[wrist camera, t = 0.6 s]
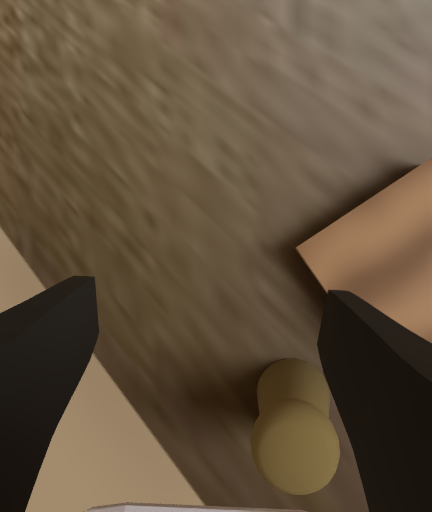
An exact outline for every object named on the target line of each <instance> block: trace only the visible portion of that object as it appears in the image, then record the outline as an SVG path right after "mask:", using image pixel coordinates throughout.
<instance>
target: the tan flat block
mask: <svg viewBox="0 0 432 512" xmlns="http://www.w3.org/2000/svg"><path fill="white" fill-rule="evenodd" d="M296 251H297V252H298V254H299V255H300V256H301V258H302V259H303V261H304V262H305V264H306V265H307V267H308V268H309V270H310V271H311V272H312V274H313V275H314V277H315V278H316V280H317V281H318V283H319V284H320V285H321V287H322V288H323V290H324V291H325V293H326V294H327V293H328V290H345V291H350V292H351V293H353V294H355V295H357V296H358V297H360V298H361V299H363V300H365V301H366V302H368V303H369V304H371V305H372V306H374V307H375V308H376V309H378V310H379V311H381V312H382V313H384V314H385V315H387V316H388V317H390V318H391V319H393V320H394V321H396V322H398V323H399V324H401V325H402V326H404V327H405V328H407V329H409V330H410V331H412V332H413V333H415V334H417V335H419V336H420V337H422V338H424V339H425V340H427V341H429V342H430V343H432V158H430V159H429V160H427V161H426V162H424V163H423V164H421V165H420V166H418V167H417V168H415V169H414V170H412V171H411V172H409V173H408V174H406V175H405V176H403V177H402V178H400V179H399V180H397V181H396V182H394V183H393V184H391V185H390V186H388V187H387V188H385V189H384V190H382V191H381V192H379V193H377V194H376V195H374V196H373V197H371V198H370V199H368V200H367V201H365V202H364V203H362V204H361V205H359V206H358V207H356V208H355V209H353V210H352V211H350V212H349V213H347V214H346V215H344V216H343V217H341V218H340V219H338V220H337V221H335V222H334V223H332V224H331V225H329V226H328V227H326V228H325V229H323V230H322V231H320V232H319V233H317V234H316V235H314V236H313V237H311V238H310V239H308V240H306V241H305V242H303V243H302V244H300V245H299V246H297V247H296Z"/></svg>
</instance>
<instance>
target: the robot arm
mask: <svg viewBox="0 0 432 512" xmlns="http://www.w3.org/2000/svg"><path fill="white" fill-rule="evenodd" d="M98 334H99V327H98V314H97V302H96V289H95V277H88V276H73V277H70V278H68V279H66V280H64V281H62V282H60V283H58V284H56V285H54V286H52V287H51V288H49V289H47V290H45V291H43V292H41V293H39V294H37V295H36V296H34V297H32V298H30V299H28V300H26V301H24V302H22V303H20V304H18V305H16V306H14V307H12V308H10V309H8V310H6V311H4V312H2V313H0V512H25V510H26V507H27V504H28V501H29V499H30V496H31V493H32V490H33V487H34V484H35V482H36V479H37V476H38V473H39V470H40V468H41V465H42V462H43V460H44V457H45V455H46V452H47V449H48V447H49V444H50V441H51V439H52V436H53V434H54V432H55V429H56V427H57V425H58V423H59V421H60V419H61V417H62V415H63V413H64V411H65V409H66V407H67V405H68V403H69V401H70V399H71V397H72V395H73V393H74V391H75V389H76V387H77V385H78V383H79V381H80V379H81V377H82V375H83V373H84V371H85V369H86V367H87V365H88V363H89V361H90V358H91V356H92V353H93V350H94V347H95V344H96V341H97V337H98ZM317 346H318V350H319V355H320V360H321V364H322V368H323V372H324V375H325V377H326V380H327V383H328V385H329V388H330V391H331V393H332V396H333V398H334V401H335V403H336V406H337V408H338V411H339V414H340V416H341V419H342V421H343V424H344V426H345V429H346V431H347V434H348V437H349V439H350V442H351V445H352V448H353V451H354V455H355V458H356V462H357V466H358V469H359V473H360V477H361V480H362V484H363V488H364V492H365V496H366V500H367V504H368V508H369V512H432V343H430V342H429V341H427V340H425V339H424V338H422V337H420V336H419V335H417V334H415V333H413V332H412V331H410V330H409V329H407V328H405V327H404V326H402V325H401V324H399V323H398V322H396V321H394V320H393V319H391V318H390V317H388V316H387V315H385V314H384V313H382V312H381V311H379V310H378V309H376V308H375V307H374V306H372V305H371V304H369V303H368V302H366V301H365V300H363V299H361V298H360V297H358V296H357V295H355V294H353V293H351V292H350V291H345V290H328V293H327V298H326V303H325V308H324V313H323V318H322V323H321V328H320V332H319V337H318V342H317ZM84 512H307V511H302V510H286V509H264V508H241V507H219V506H195V505H174V504H150V503H129V502H127V503H120V504H113V505H105V506H97V507H92V508H90V509H88V510H86V511H84Z"/></svg>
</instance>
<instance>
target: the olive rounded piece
mask: <svg viewBox="0 0 432 512" xmlns="http://www.w3.org/2000/svg"><path fill="white" fill-rule="evenodd" d="M257 400H258V407H259V417H258V418H257V420H256V422H255V423H254V427H253V431H252V436H251V440H250V441H251V452H252V457H253V459H254V462H255V464H256V467H257V469H258V471H259V473H260V474H261V475H262V476H263V478H264V479H265V480H266V481H267V482H268V483H269V484H271V485H272V486H273V487H275V488H276V489H278V490H280V491H283V492H286V493H289V494H292V495H306V494H310V493H313V492H316V491H319V490H320V489H321V488H322V487H324V486H325V485H326V484H328V483H329V482H330V480H331V478H332V477H333V475H334V474H335V472H336V469H337V465H338V461H339V456H340V448H339V439H338V436H337V434H336V431H335V429H334V427H333V425H332V422H331V421H330V420H329V407H330V393H329V387H328V385H327V382H326V380H325V378H324V376H323V375H322V374H321V373H320V372H319V370H318V369H317V368H316V367H314V366H312V365H311V364H309V363H308V362H306V361H302V360H298V359H282V360H280V361H277V362H275V363H273V364H271V365H270V366H269V367H268V368H267V369H265V370H264V372H263V374H262V375H261V377H260V379H259V382H258V386H257Z"/></svg>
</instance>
